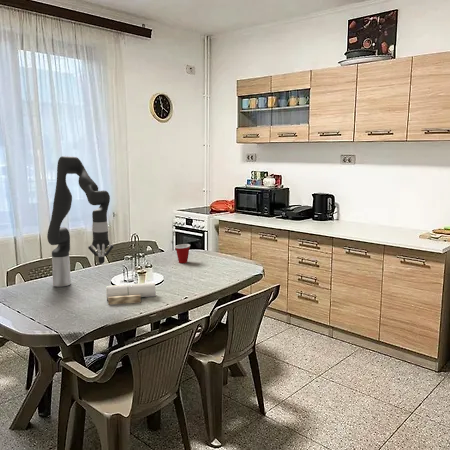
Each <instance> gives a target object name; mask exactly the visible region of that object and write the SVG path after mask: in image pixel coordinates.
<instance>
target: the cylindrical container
mask: <svg viewBox="0 0 450 450" xmlns="http://www.w3.org/2000/svg"><path fill="white" fill-rule="evenodd" d="M156 291H157V289H156V282H146V283H145V282H144V283H131V284H119V285H117V284H115V285H107V286H106V291H105V293H106V300H108V297H112V296H127V295H140V296H141V298H147V297H156V294H157V293H156Z"/></svg>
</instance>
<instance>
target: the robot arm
mask: <svg viewBox="0 0 450 450" xmlns="http://www.w3.org/2000/svg"><path fill="white" fill-rule="evenodd" d="M67 175H77V176H78V185H79V188H81V190H82V191H83V192H84V193H85V196H86V199H87V202H88V203H89V204H90V206H99V207H98V208H97V209H94V210H93V211H92V215H91V216H92V226H91V227H92V229H91V230H92V243H91V244H90V245H88V247H87V248H88V250H89V251H90V252H91V253H92V254H93V255H94V256H95V257H98V263H99V264H100V265H103V264H104V263H105V257H106V256H108V255H109V254H110V252H112V250H113V249H114V244H113V243H112V244H111V243H110V240H109V226H108V225H109V223H108V209H109V205H110V201H111V195H110V193H109V192H108V191H107V190H99V187H98V185H97V183H96V182H95V181H94V180H93V178H91V176H90V175H89V173H88V171H87V170H86V167H85V166H84V164H83V163H82V161H81V160H80V158H79V157H77V156H68V155H67V156H66V155H65V156H60V157H58V160H57V168H56V185H55V189H54V198H53V203H52V204H53V205H52V206H53V207H52V213H51V217H50V222H49V226H48V230H47V234H46V235H47V236H46V237H47V242H48V243H49V245H52V246H56V247H55V249H53V250H52V251H51V260H52V261H51V263H52V270H51V271H52V272H51V274H52V286H53V287H56V288H57V287H58V288H60V287H67V286H69V285H71V284H72V281H71V262H70V260H71V259H70V250H71V234H70V231H69V229H68V228H67V227H65V226H61V225H62V223H63V221H64V220H65V218H66V217H67V215H68V214H69V212H70V211H71V207H72V202H73V196H72V193H71V190H70V188H69V186H68V185H67ZM107 248H108V249H107ZM95 249H96V250H95ZM106 249H107V250H106ZM105 250H106V251H105Z"/></svg>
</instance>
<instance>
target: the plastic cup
mask: <svg viewBox="0 0 450 450" xmlns="http://www.w3.org/2000/svg"><path fill="white" fill-rule="evenodd" d="M190 247H191V244H189V243H182V244H177V245H174V248H175V251H176V256H177V261H178V263H179V264H187V263H188V261H189V260H188V259H189V255H190V253H189V252H190Z"/></svg>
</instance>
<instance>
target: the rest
mask: <svg viewBox="0 0 450 450" xmlns="http://www.w3.org/2000/svg"><path fill="white" fill-rule="evenodd" d="M141 298H142V297H141V296H140V295H127V296H112V297H108V305H123V304H134V303H135V304H137V303H141V301H142V299H141Z"/></svg>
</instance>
